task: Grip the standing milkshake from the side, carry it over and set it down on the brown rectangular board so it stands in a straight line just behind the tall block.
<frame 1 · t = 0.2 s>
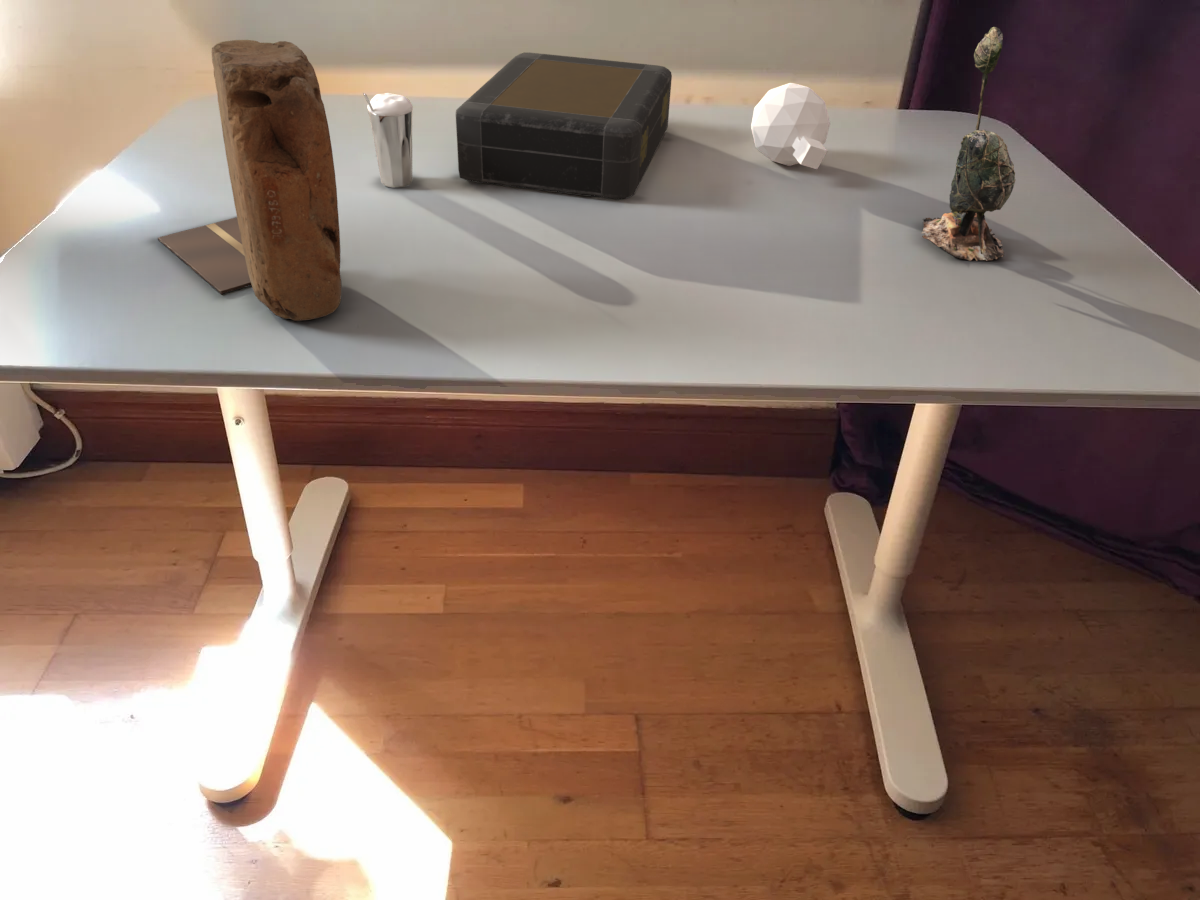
brown rectangular board: (241, 251, 88), on the table
milkshake: (394, 185, 103), on the table
block: (300, 297, 82), on the table, touching brown rectangular board
perfume bottle: (784, 167, 111), on the table
cash box: (567, 155, 112), on the table
plant with pod: (960, 248, 95), on the table
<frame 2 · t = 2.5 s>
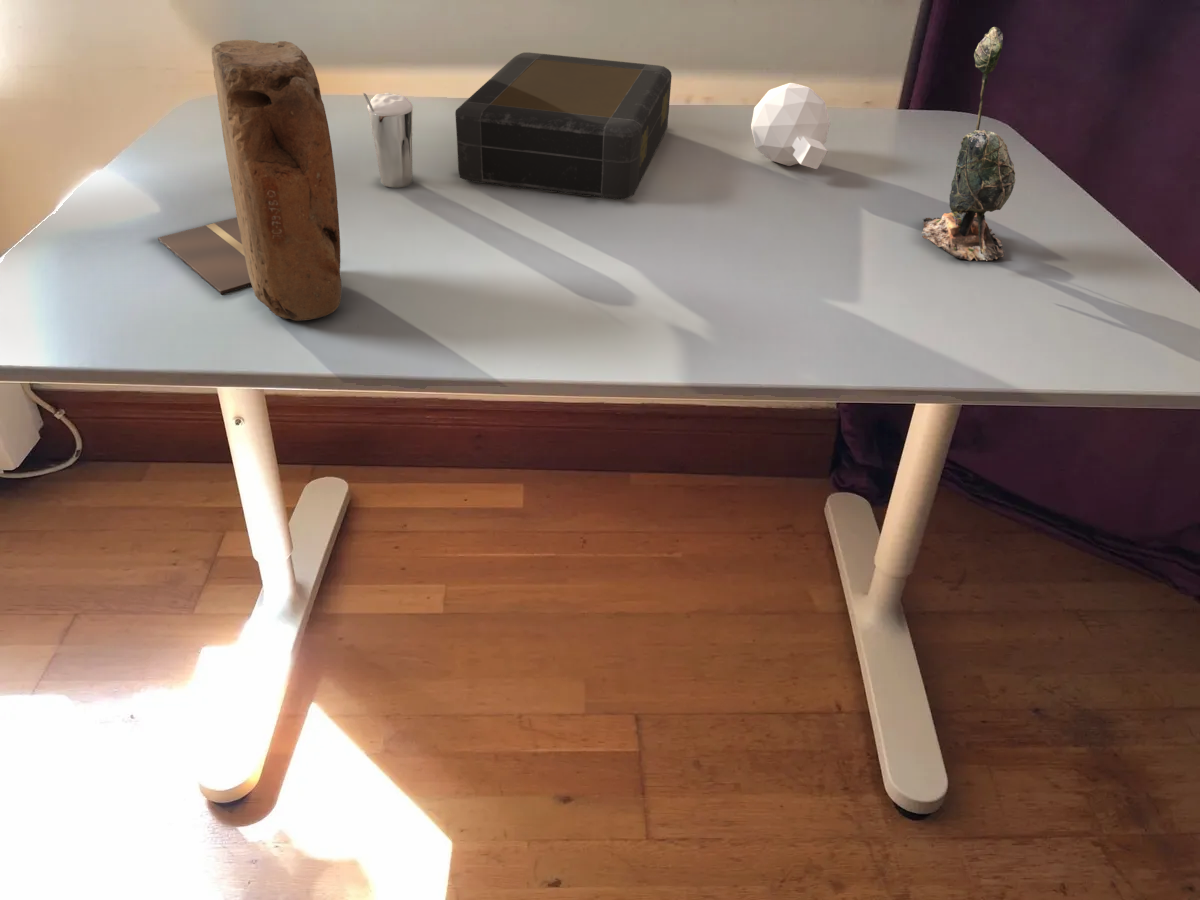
nothing on the table moved.
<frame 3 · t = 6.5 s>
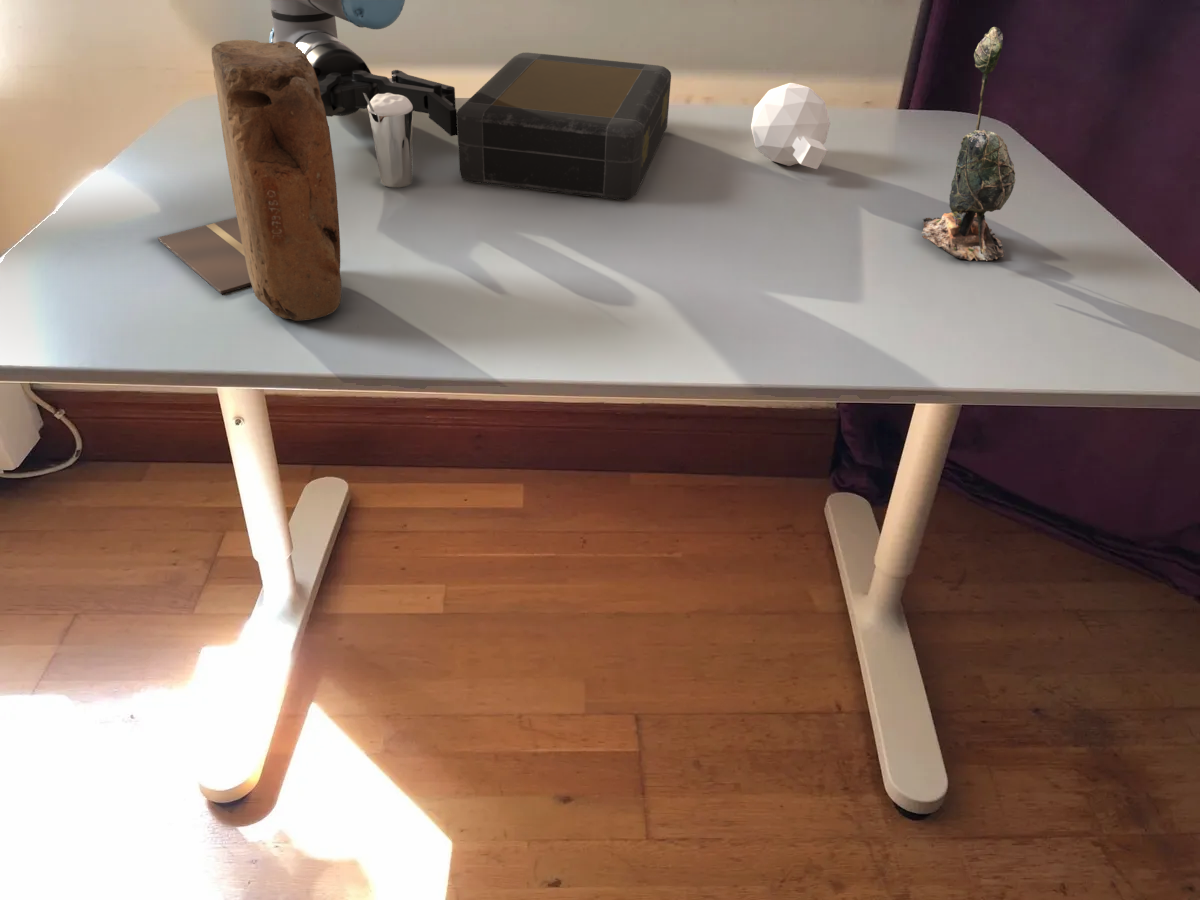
hand: (392, 131, 98), 6 cm above the table, tool horizontal, fingers open, 13 cm apart
cash box: (567, 155, 112), on the table, touching gripper
everything else where it was.
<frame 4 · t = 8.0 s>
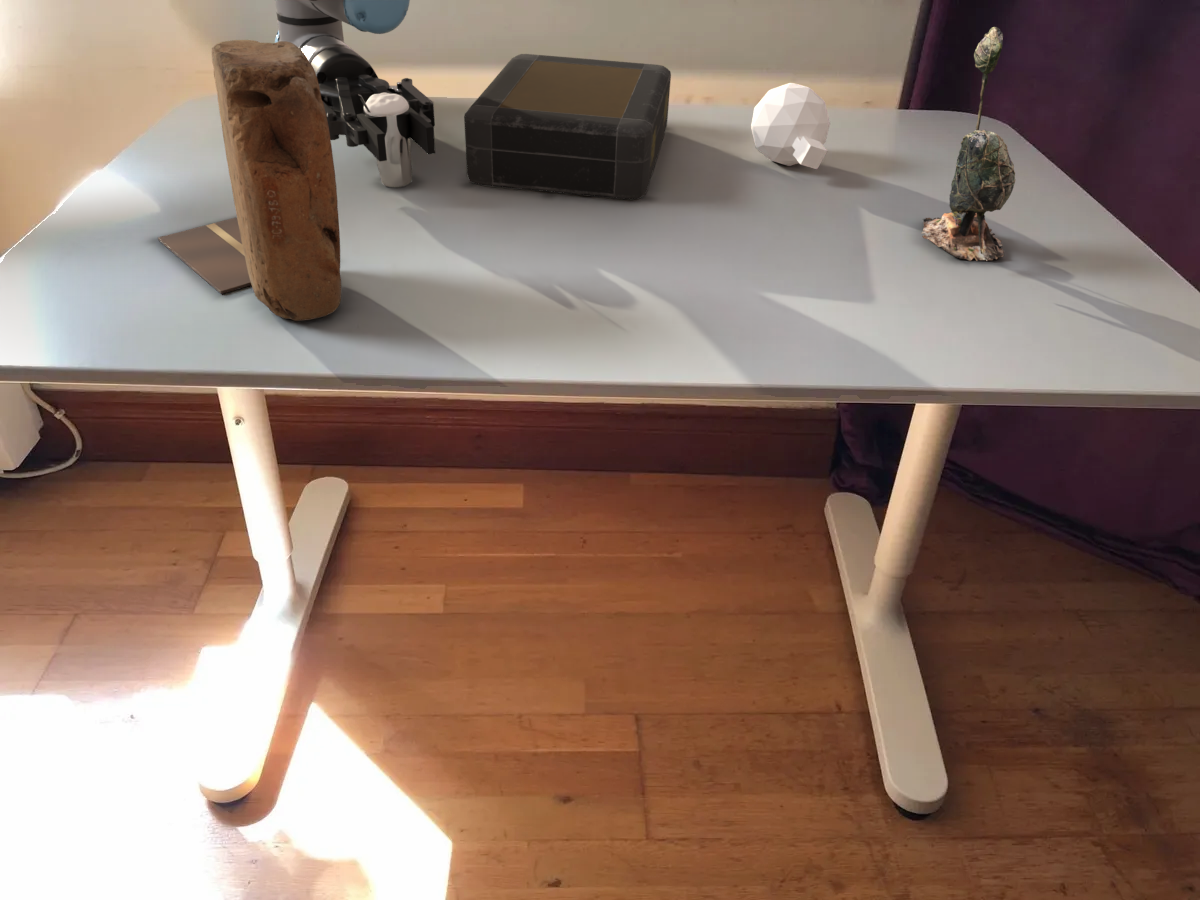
hand: (406, 143, 95), 6 cm above the table, tool horizontal, fingers closed on milkshake, 4 cm apart
milkshake: (394, 184, 103), on the table, touching gripper
cash box: (571, 156, 112), on the table
everything else where it was.
when the fingers open (6 cm above the table, at t = 15.4 s): milkshake stays where it is, resting on brown rectangular board.
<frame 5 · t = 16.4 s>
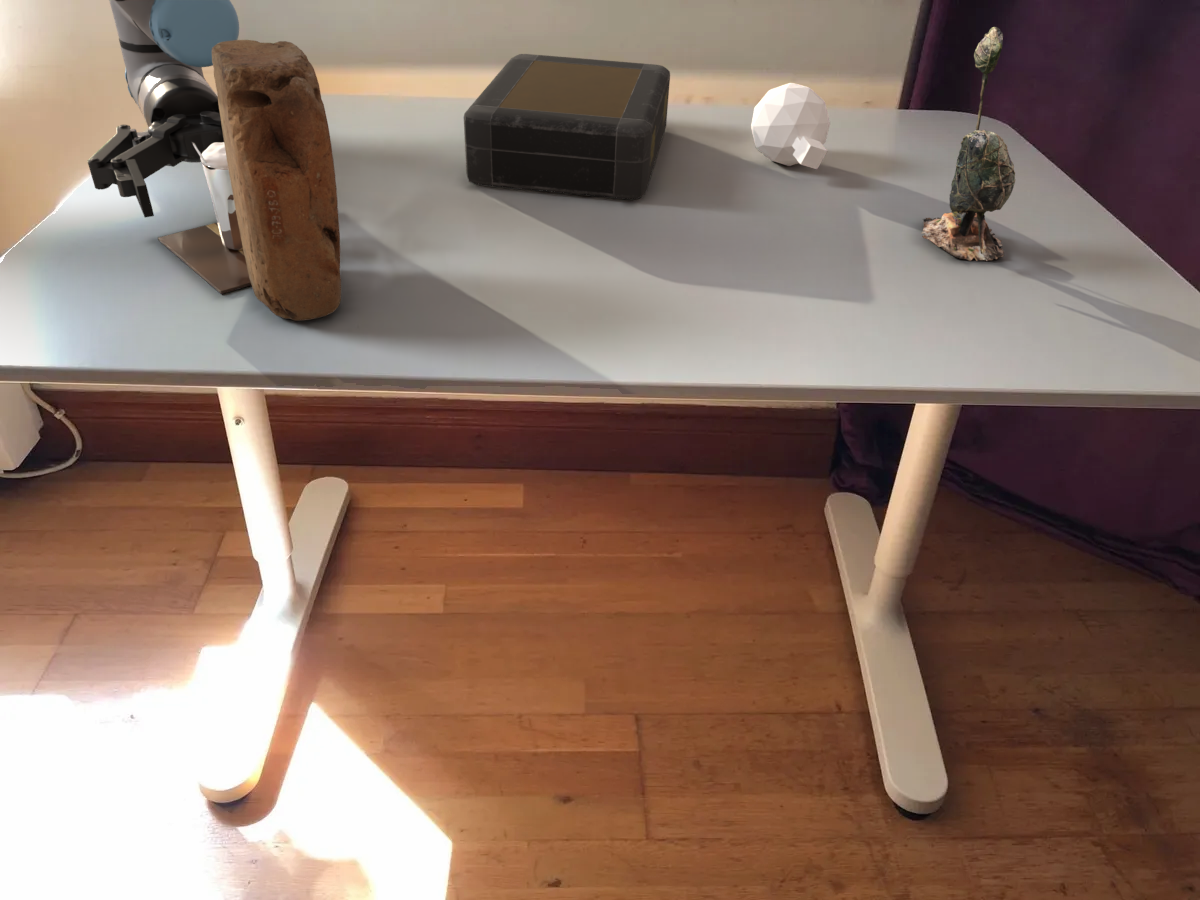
hand: (229, 189, 82), 7 cm above the table, tool horizontal, fingers open, 13 cm apart
milkshake: (237, 246, 88), resting on brown rectangular board
everything else where it was.
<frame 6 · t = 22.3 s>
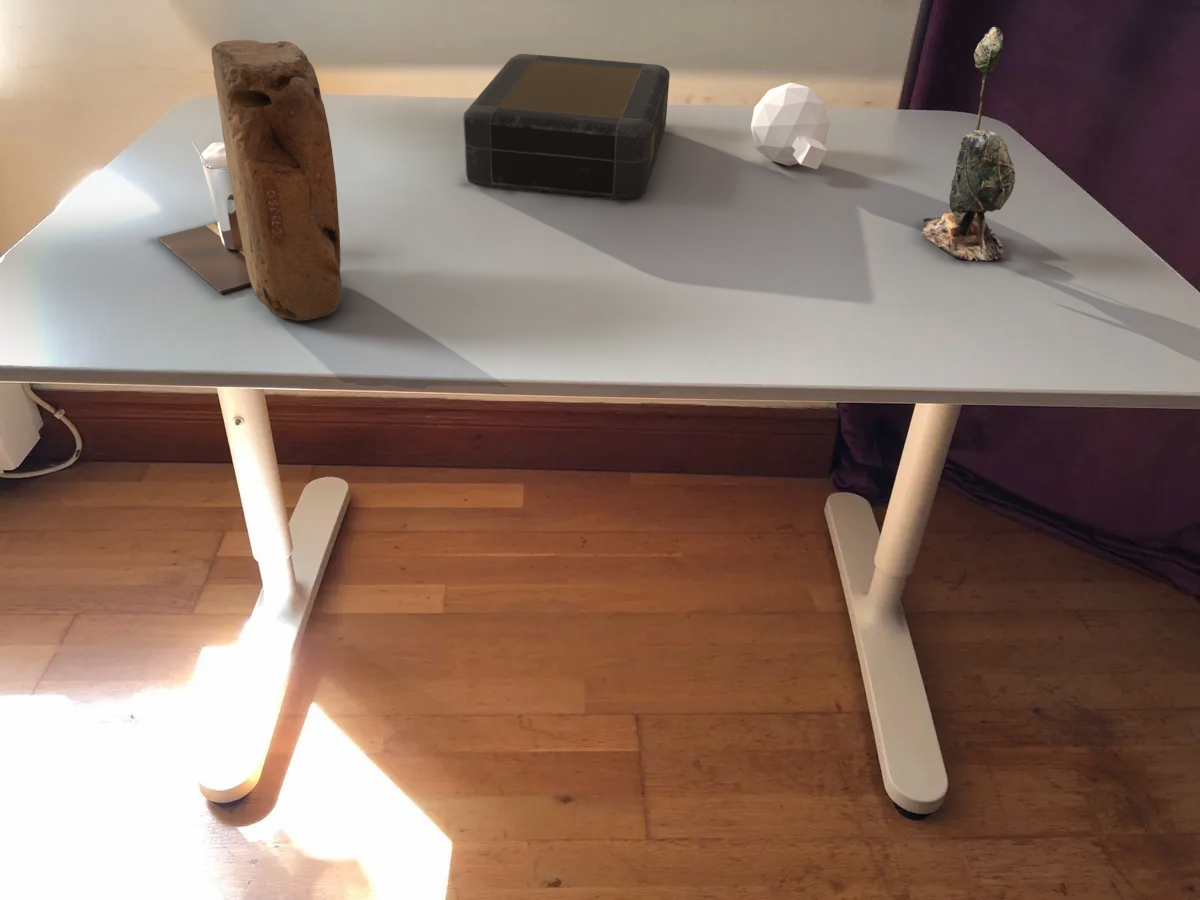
nothing on the table moved.
at the end: milkshake inside the target area on the table beside the block (0.5 cm from its centre), on the table; milkshake tilted 3°; block moved 0.0 cm from its start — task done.
